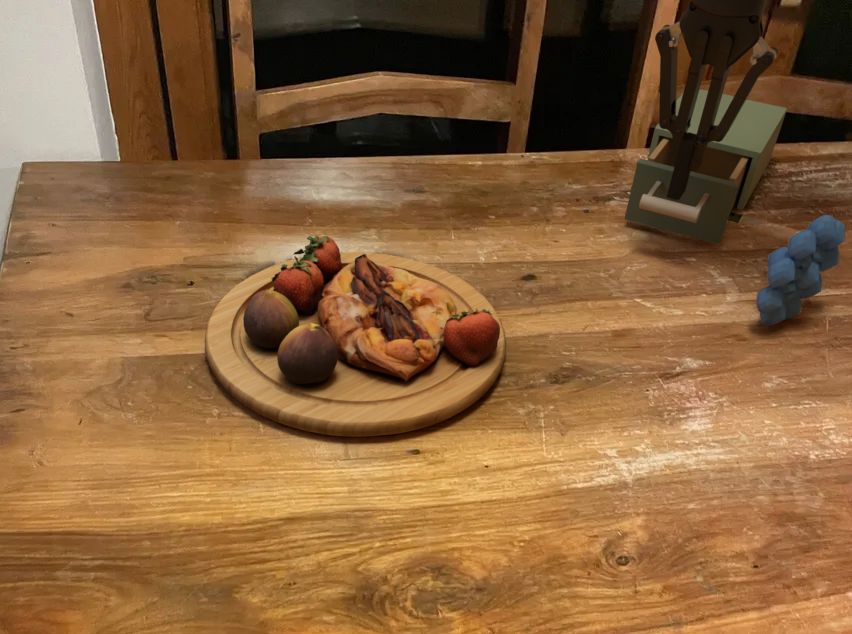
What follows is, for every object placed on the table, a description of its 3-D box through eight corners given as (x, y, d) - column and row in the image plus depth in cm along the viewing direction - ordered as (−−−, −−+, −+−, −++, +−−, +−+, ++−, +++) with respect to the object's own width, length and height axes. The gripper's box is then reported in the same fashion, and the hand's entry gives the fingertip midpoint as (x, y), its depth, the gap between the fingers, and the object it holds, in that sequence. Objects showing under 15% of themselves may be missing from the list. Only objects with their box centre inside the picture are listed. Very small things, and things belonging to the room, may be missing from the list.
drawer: (706, 268, 113) (724, 209, 107) (608, 241, 116) (621, 182, 110) (746, 197, 125) (764, 141, 119) (657, 174, 128) (670, 119, 123)
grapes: (783, 286, 112) (820, 188, 103) (830, 313, 109) (873, 213, 100) (719, 317, 107) (753, 216, 98) (766, 345, 104) (806, 244, 95)
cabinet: (738, 223, 122) (761, 153, 115) (638, 197, 126) (654, 127, 119) (764, 176, 131) (787, 108, 124) (670, 153, 135) (688, 85, 128)
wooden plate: (556, 329, 104) (569, 261, 98) (399, 487, 87) (403, 416, 80) (325, 241, 115) (323, 174, 109) (143, 365, 97) (128, 294, 91)
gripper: (664, -40, 93) (613, 192, 111) (796, -15, 89) (721, 221, 107) (685, -59, 97) (633, 168, 115) (811, -36, 94) (737, 195, 111)
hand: (675, 193), depth 111 cm, fingers closed
